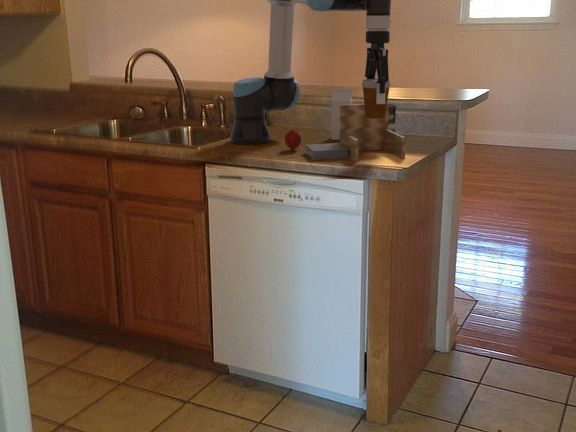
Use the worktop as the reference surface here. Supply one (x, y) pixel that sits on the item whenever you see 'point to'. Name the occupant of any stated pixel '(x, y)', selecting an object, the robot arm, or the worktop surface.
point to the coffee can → (392, 117)
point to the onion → (292, 139)
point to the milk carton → (339, 99)
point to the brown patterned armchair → (368, 132)
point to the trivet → (326, 151)
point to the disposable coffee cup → (374, 99)
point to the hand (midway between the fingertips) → (375, 101)
